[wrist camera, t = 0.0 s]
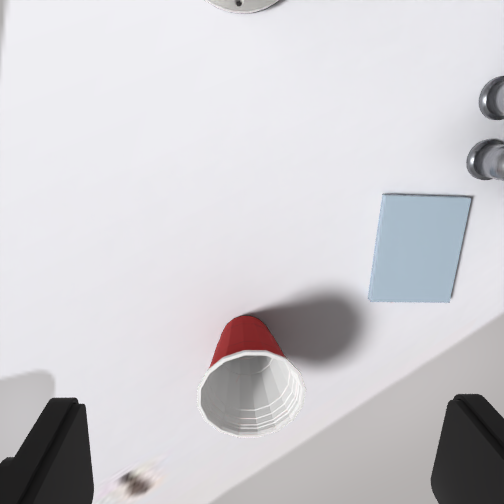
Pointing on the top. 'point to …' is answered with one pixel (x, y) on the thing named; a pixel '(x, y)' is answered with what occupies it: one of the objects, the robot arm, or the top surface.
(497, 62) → the top surface
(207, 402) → the plastic cup
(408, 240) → the pad
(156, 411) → the top surface
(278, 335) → the top surface
